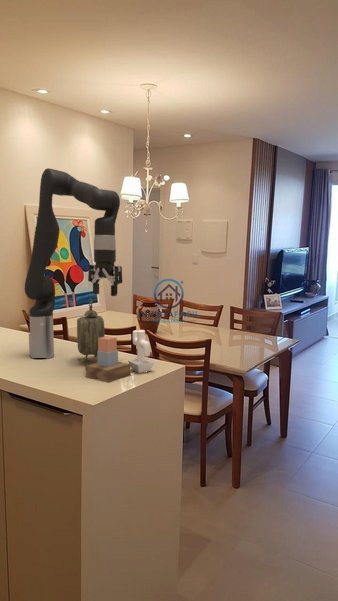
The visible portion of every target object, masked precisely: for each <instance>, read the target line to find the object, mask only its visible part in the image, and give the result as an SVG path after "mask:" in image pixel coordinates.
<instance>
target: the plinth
mask: <svg viewBox="0 0 338 601" xmlns="http://www.w3.org/2000/svg"><path fill="white" fill-rule="evenodd" d="M131 369H132V368H131V365H130V364H129V362H128V363H127V362H121V361H118V365H114V366H111V367H104V366H99V365H98V361H97V362H95V363H90V364H86V365H85V378H88V379H92V380H97V381H101V382H105V383H111V382H115V381H117V380H121V379H124V378H126V377H129V376H131Z"/></svg>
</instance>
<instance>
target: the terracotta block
mask: <svg viewBox="0 0 338 601" xmlns="http://www.w3.org/2000/svg"><path fill="white" fill-rule="evenodd" d="M117 339H118V338H117V337H115V336H109V335H108V336H105V337H101V338H98V351H101V352H107V353H108V352H112V351H116V350H118V344H117V342H118V340H117Z"/></svg>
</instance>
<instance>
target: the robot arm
mask: <svg viewBox="0 0 338 601" xmlns="http://www.w3.org/2000/svg"><path fill="white" fill-rule="evenodd" d="M55 195H56V196H60V197H61V196H63V197H66V196H67V197H74V199H75V200H77V201H78V202H80V203H82V204H86V205H87V206H88V207H89V208H91V209H93V210H96V211H104V214H103V216H102V217H98V218H96V219H95V220H94V237H93V262H94V263H95V264H88V274H87V275H88V279H87V280H88V282H89V283H90V282H91V284H92V293H93V295H99V294H100V282H101V280H102V279H107V280H108V281H109V283H110V296H111V297H117V295H118V285H120V284H122V283H123V267H122V266H121V265H115V262H116V261H117V254H116V253H117V246H116V245H117V243H116V220H117V217H118V214H119V210H120V205H121V198H120V196H119V194H118V193H117V191H115V190H110V189H109V190H108V189H101V188H99V187H98V186H95V185H93V184H90V183H87V182H84V181H81V180H78V179H76V178H75V177H74V176H72V175H70V174H69V173H67V172H66V171H63V170H58V169H54V168H49V167H48V168H46V169H44V170H43V172H42V173H41V178H40V185H39V201H38V209H37V210H38V211H37V218H36V224H35V230H34V236H33V246H32V250H31V256H30V257H31V258H30V261H29V266H28V270H27V274H26V278H25V282H24V294H25V295H26V297H27V298H29V299H30V300H32V301H33V300H35V303H34V305H33V306H31V307H30V309H29V313H28V314H29V333H28V348H29V349H28V350H29V357H30V356H31V357H32V358H31V357H30V358H31V359H33V358H47V359H51V357H52V358H53V357H55V350H54V349H55V348H54V347H55V346H54V345H55V343H54V342H55V340H54V338H55V336H54V335H55V334H54V310H55V306H56V286H55V282H54V280H53V279H52V278H51V277H50V276H48V275H45V273H46V269H47V266H48V263H49V262H50V260H51V258H52V257H53V255H54V254H55V251H56V250H57V247H58V244H59V238H60V230H61V229H60V226H59V222H58V219H57V216H56V214H55V213H54V208H53V196H55Z"/></svg>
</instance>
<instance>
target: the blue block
mask: <svg viewBox="0 0 338 601" xmlns="http://www.w3.org/2000/svg"><path fill="white" fill-rule="evenodd" d="M96 359H97V362H98V365H99V366H104V367H111V366H114V365H118V362H119V350H118V349H117V350H116V351H112V352H108V353H107V352H101V351H97V358H96Z"/></svg>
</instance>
